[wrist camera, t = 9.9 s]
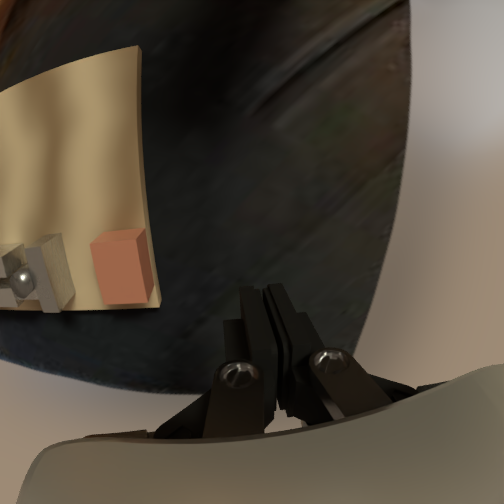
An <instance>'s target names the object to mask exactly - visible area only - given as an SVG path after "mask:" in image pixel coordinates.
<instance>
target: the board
mask: <svg viewBox="0 0 504 504" xmlns="http://www.w3.org/2000/svg"><path fill="white" fill-rule="evenodd" d="M141 60H142V51H141V49H140V48H139V46H133V47H128V48H123V49H118V50H114V51H110V52H106V53H102V54H98V55H95V56H91V57H88V58H84V59H81V60H78V61H75V62H72V63H69V64H66V65H63V66H60V67H57V68H54V69H52V70H49V71H47V72H44V73H42V74H39V75H37V76H34V77H32V78H30V79H27V80H25V81H23V82H21V83H19V84H17V85H15V86H12V87H10V88H8V89H6V90H4V91H3V92H1V93H0V245H6V244H17V243H23V245H24V248H26V247H27V246H29V245H30V244H32V243H33V242H35V241H37V240H38V239H40V238H41V237H43V236H45V235H48V234H55V233H61V234H62V239H63V243H64V248H65V252H66V257H67V261H68V265H69V269H70V273H71V277H72V280H73V284H74V287H75V291H76V293H75V294H74V295H73V296H72V298H71V299H70V300H69V301H68V303H67V304H66V305H65V306H64V308H63V309H62V310H106V309H133V308H153V307H160V303H161V300H162V298H161V293H160V287H159V282H158V276H157V271H156V265H155V258H154V252H153V245H152V238H151V231H150V223H149V215H148V207H147V197H146V187H145V176H144V163H143V147H142V125H141ZM136 228H145V229H146V236H147V243H148V249H149V256H150V262H151V268H152V273H153V279H154V284H155V285H154V287H153V290H152V293H151V296H150V298H149V301H148V303H131V304H108V305H104V302H103V299H102V295H101V291H100V288H99V284H98V280H97V276H96V272H95V268H94V263H93V259H92V254H91V249H90V243H91V242H92V241H93V240H95V239H96V238H97V237H98V236H99V235H101V234H102V233H103V232H108V231H117V230H127V229H136ZM26 259H27V258H26ZM26 263H28V262H26ZM26 263H25V264H26ZM25 264H24V265H25ZM24 265H22V266H21V267H23V266H24ZM21 267H20V268H21ZM20 268H18V269H17V270H19V269H20ZM17 270H16V271H17ZM16 271H14V272H13V273H15V272H16ZM0 310H42V307H41V304H40V301H39V300H25V301H24V302H23V303H22V304H21V305H20V306H19V307H0Z"/></svg>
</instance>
